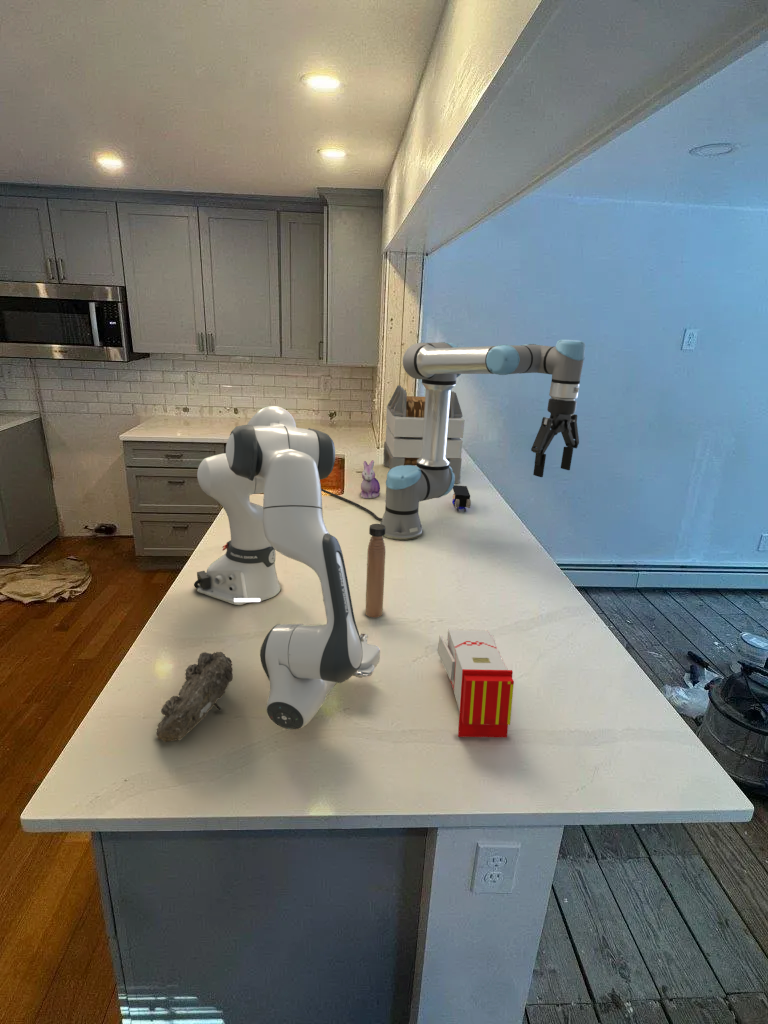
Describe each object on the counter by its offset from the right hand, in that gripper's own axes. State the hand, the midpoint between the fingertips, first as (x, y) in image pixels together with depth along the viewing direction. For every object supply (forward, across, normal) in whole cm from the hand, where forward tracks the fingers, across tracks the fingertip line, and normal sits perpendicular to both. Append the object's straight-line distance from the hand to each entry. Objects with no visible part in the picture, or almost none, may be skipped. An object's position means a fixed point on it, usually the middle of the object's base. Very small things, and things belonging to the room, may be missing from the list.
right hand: (551, 472), depth 164 cm
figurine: (+32, +4, +87) cm, 93 cm away
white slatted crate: (+32, +47, +101) cm, 116 cm away
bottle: (+32, -56, +11) cm, 66 cm away
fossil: (+32, -106, +2) cm, 111 cm away
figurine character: (+32, +25, +55) cm, 69 cm away
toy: (+32, -61, -26) cm, 73 cm away
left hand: (+26, -74, 0) cm, 78 cm away
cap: (+8, -56, +11) cm, 58 cm away
